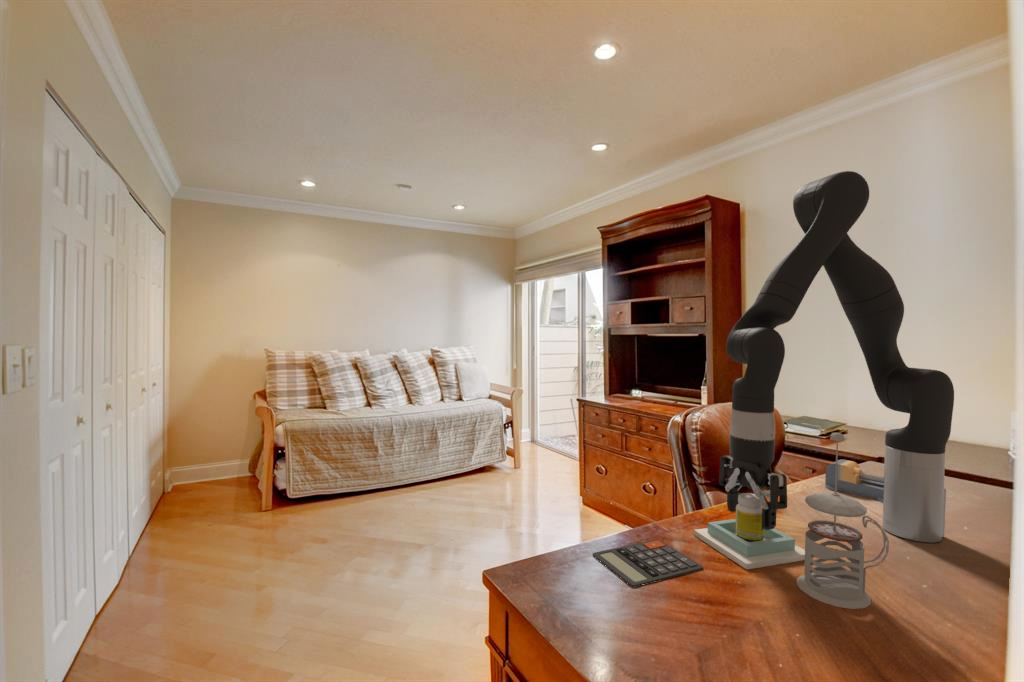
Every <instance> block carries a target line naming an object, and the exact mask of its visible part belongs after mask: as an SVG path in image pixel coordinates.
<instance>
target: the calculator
mask: <svg viewBox="0 0 1024 682" xmlns="http://www.w3.org/2000/svg"><path fill="white" fill-rule="evenodd" d="M593 556H594V558H595V557H596V558H597V559H599V560H600V561H601V562H602V563H603V564H604V565H603V564H602V563H601V562H600V561H599V562H600V563H601V564H602V565H603V566H605V565H606V566H607V567H608V568H609V569H608V568H607V567H606V566H605V567H606V568H607V569H608V570H610V569H611V570H612V571H613V572H614V573H613V572H612V571H611V570H610V571H611V572H612V573H613V574H614V575H616V574H617V575H618V576H619V577H618V576H617V575H616V576H617V577H618V578H620V577H621V578H622V579H623V580H624V581H623V580H622V579H621V578H620V579H621V580H622V581H623V582H624V583H625V584H627V583H628V584H629V585H630V587H631V586H632V587H631V588H633V587H634V588H636V587H635V586H638V587H640V586H639V585H642V584H646V583H650V584H652V583H651V582H653V583H655V582H654V581H657V582H659V580H661V581H664V579H665V580H667V579H671V578H676V577H681V576H684V575H687V574H691V573H694V572H698V571H701V570H703V569H704V566H703V565H702V564H700V563H699V562H697V561H696V560H693V559H692V558H691V557H689V556H687V555H686V554H684V553H682V552H680V551H678V550H677V549H675V548H674V547H672V546H670V545H669V544H667V543H665V542H664V541H662V540H661V539H658V538H655V539H651V540H646V541H643V542H642V541H641V542H638V543H637V542H636V543H632V544H628V545H623V546H619V547H614V548H613V547H612V548H610V549H605V550H601V551H600V550H599V551H596V552H593V553H592V557H593ZM596 558H595V559H596ZM597 559H596V560H597ZM628 584H627V585H628ZM629 585H628V586H629ZM646 585H647V584H646ZM642 586H643V585H642Z"/></svg>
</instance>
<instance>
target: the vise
mask: <svg viewBox="0 0 1024 682" xmlns="http://www.w3.org/2000/svg"><path fill="white" fill-rule="evenodd" d="M835 476H836V461H834V462H832V463H830V464H828V465H826V467H825V481H824V487H825V489H827V490H830V491H833V492H835ZM837 492H846V493H850V494H853V495H856V496H857V495H858V496H862V497H866V498H871V499H873V500H874V499H875V500H876V501H877V502H880V503H882V504H883V493H884V475H883V476H882V475H879V474H873V473H869V472H866V471H865V470H863V469H862V468H861V467H860V465H859V463H857V462H856V461H853V460H847V459H838V460H837Z"/></svg>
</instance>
